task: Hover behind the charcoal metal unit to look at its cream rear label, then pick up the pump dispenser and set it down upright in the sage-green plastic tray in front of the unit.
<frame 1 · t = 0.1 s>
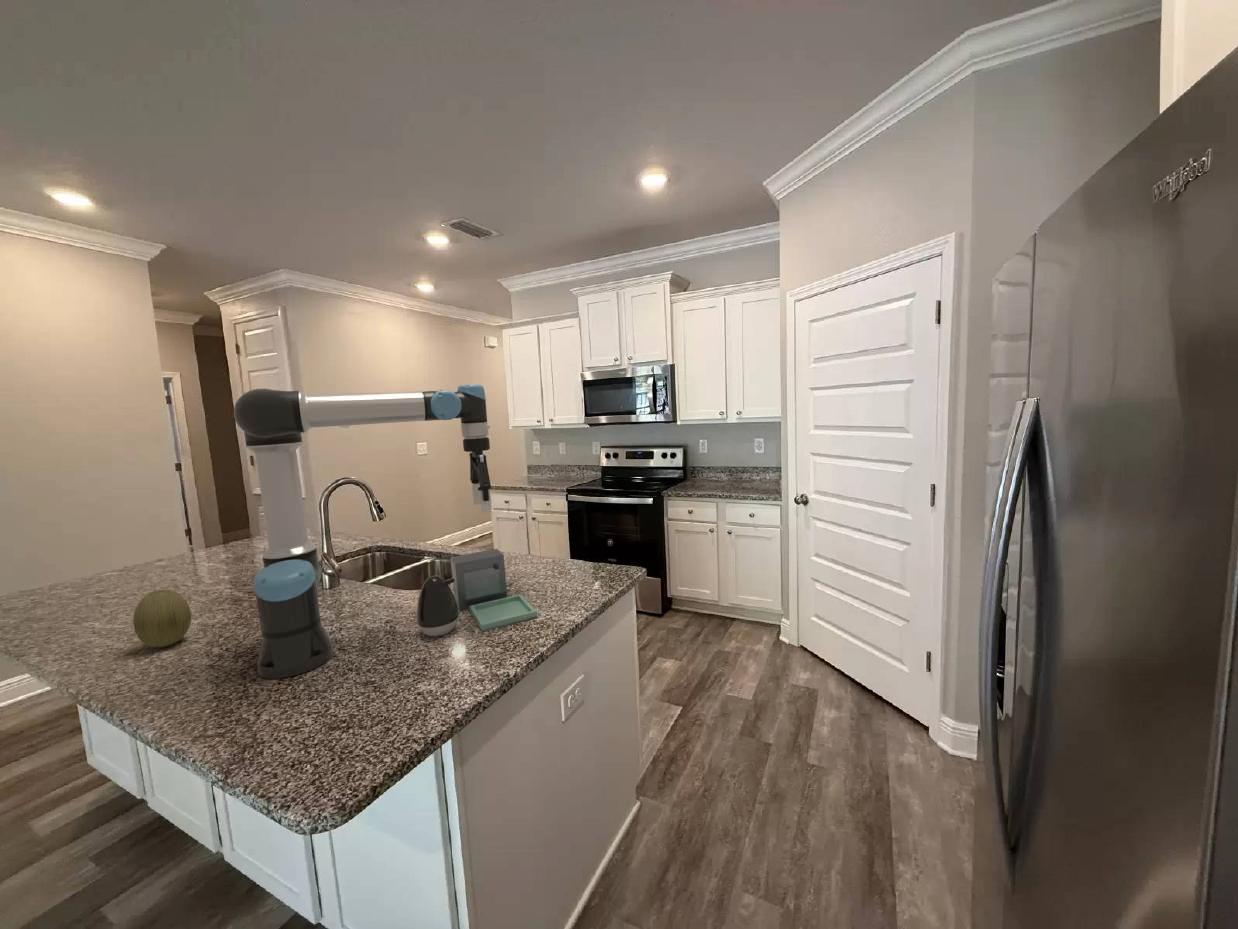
hand: (482, 508, 149), 28 cm above the counter, fingers open, 13 cm apart
unit: (481, 601, 150), on the counter
fruit: (167, 645, 132), on the counter
pump dispenser: (440, 632, 130), on the counter
tray: (503, 614, 139), on the counter
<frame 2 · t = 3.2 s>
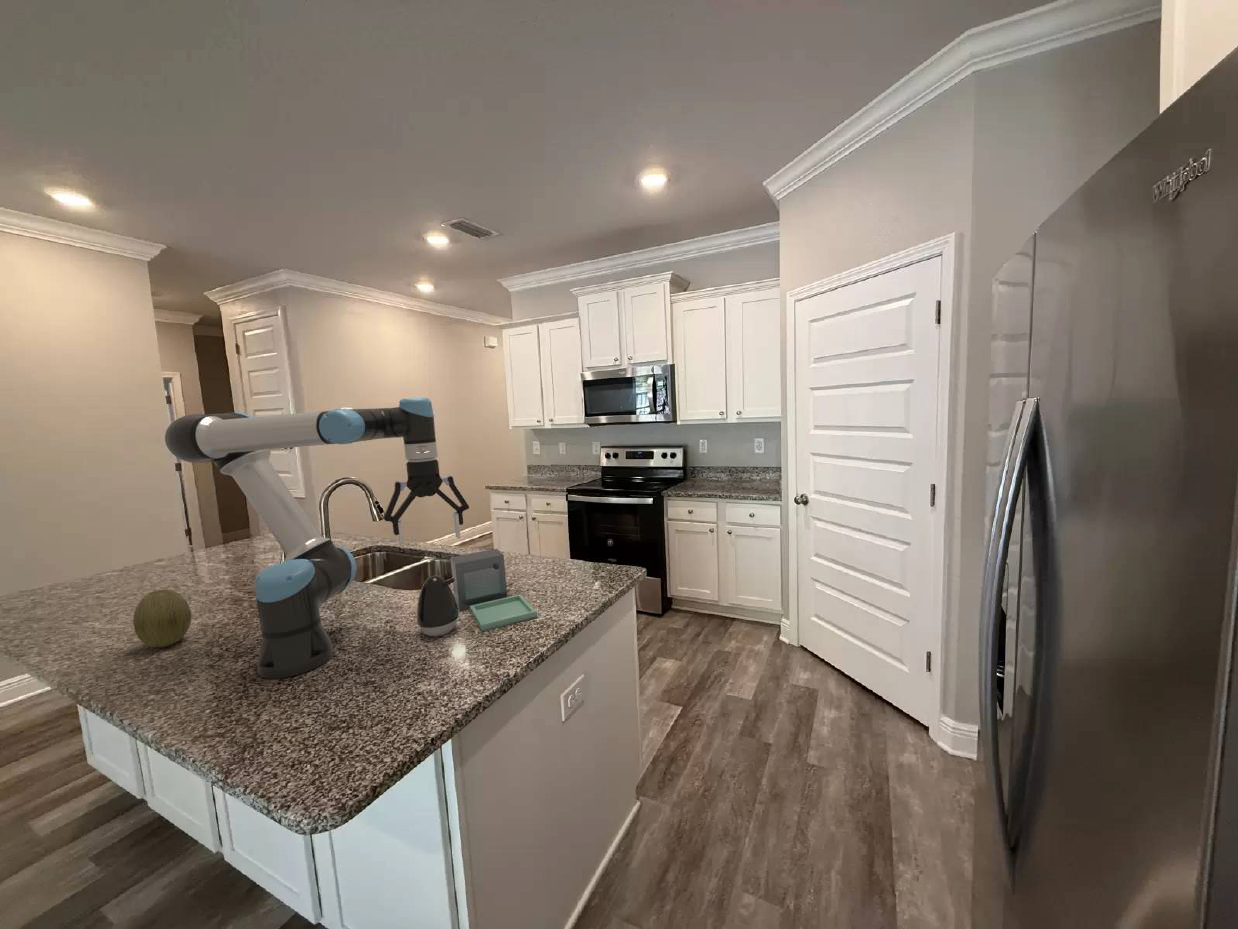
hand: (430, 542, 127), 24 cm above the counter, fingers open, 13 cm apart
nothing on the counter moved.
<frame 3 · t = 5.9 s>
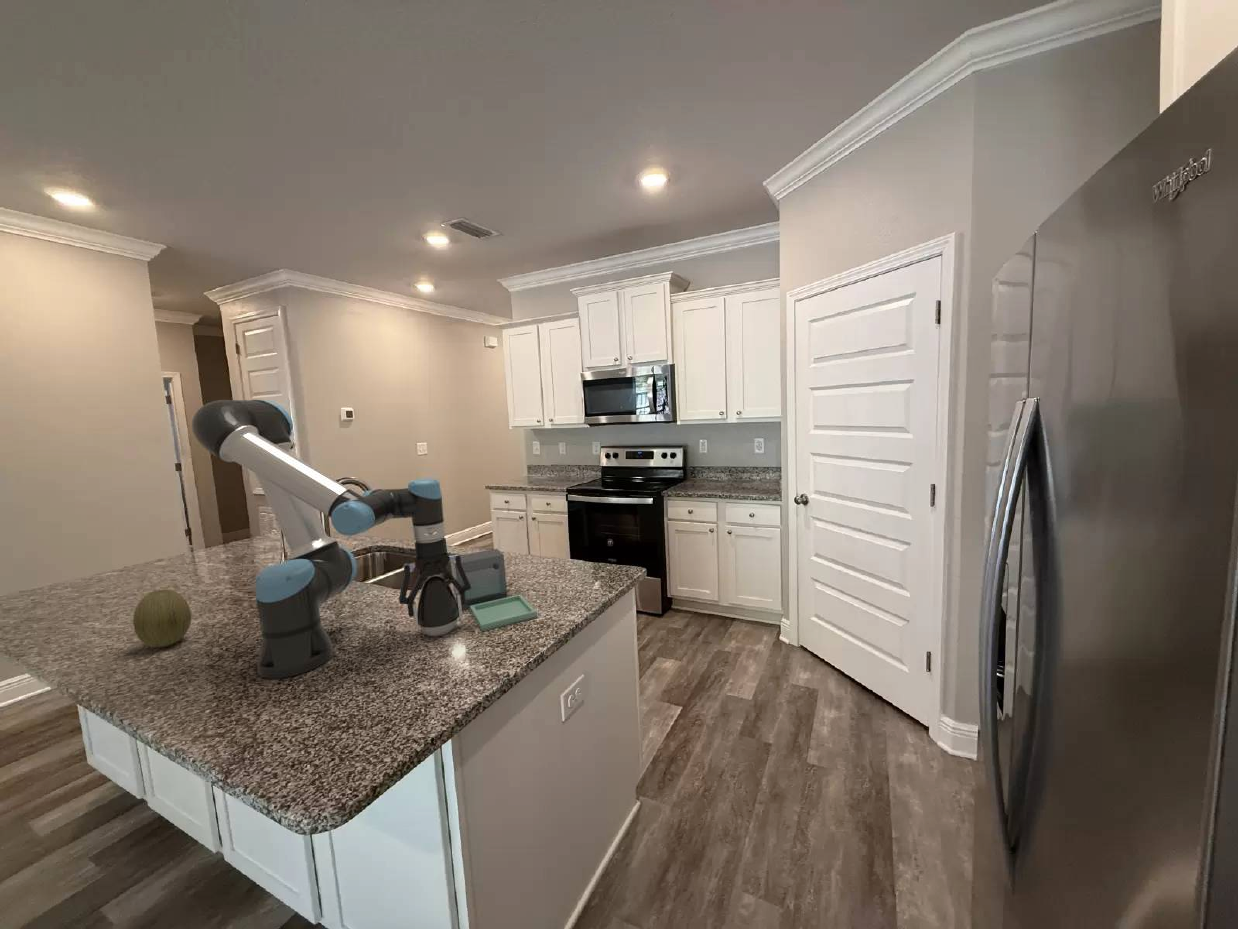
hand: (438, 621, 130), 3 cm above the counter, fingers closed on pump dispenser, 10 cm apart
pump dispenser: (440, 632, 130), on the counter, touching gripper
everything else where it was.
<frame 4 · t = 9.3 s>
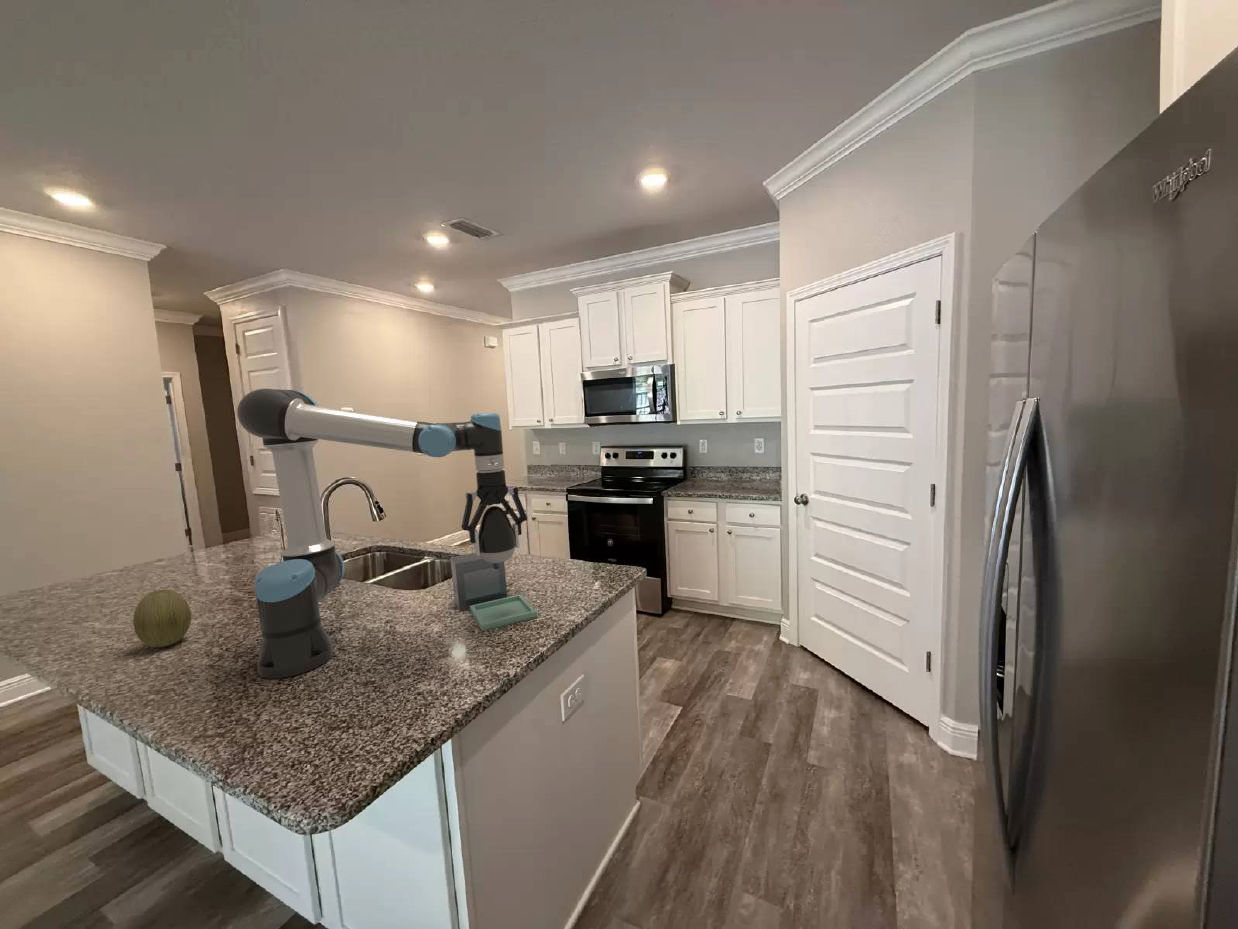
hand: (497, 550, 137), 19 cm above the counter, fingers closed on pump dispenser, 10 cm apart
pump dispenser: (498, 560, 137), point 16 cm above the counter, touching gripper
everything else where it was.
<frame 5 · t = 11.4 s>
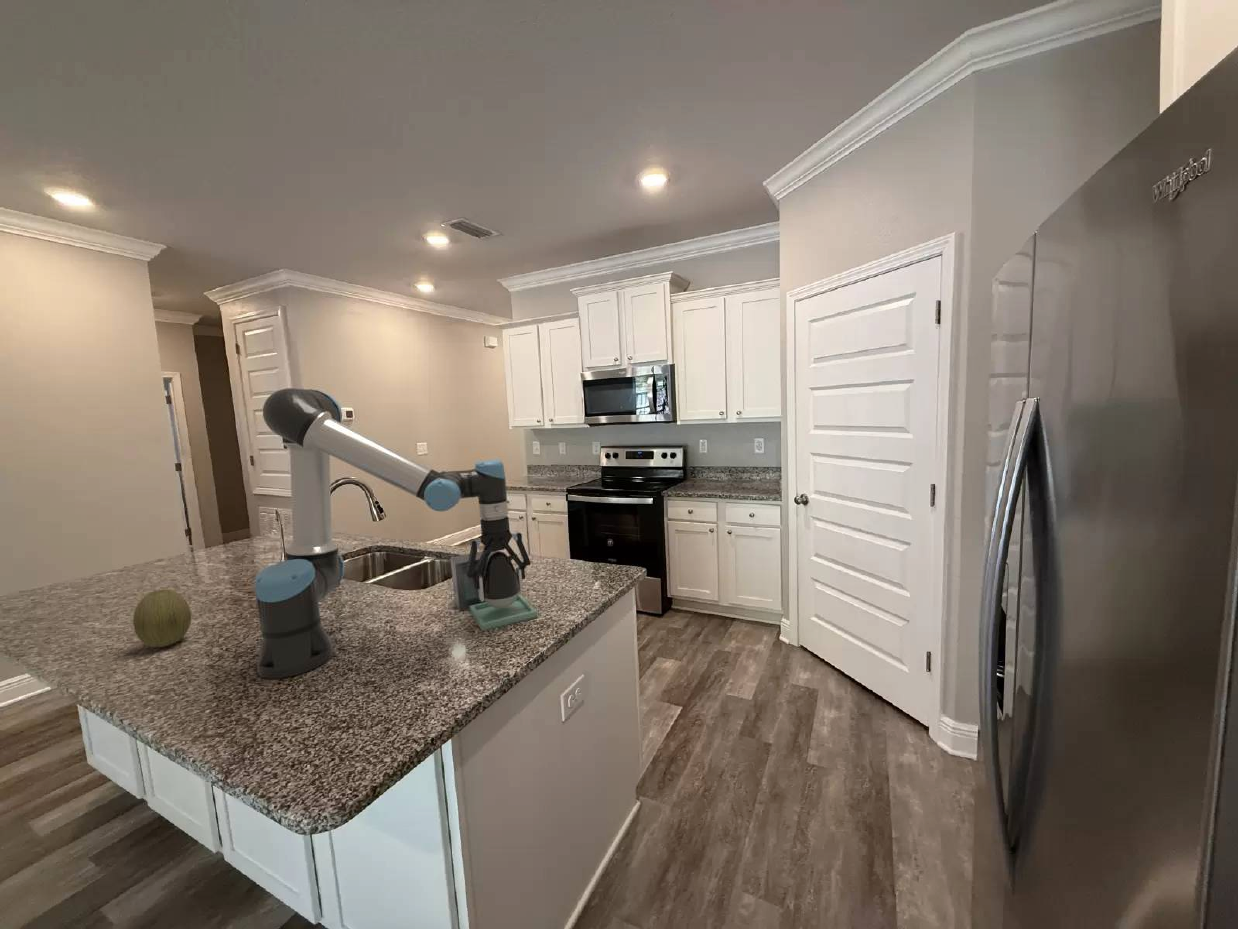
hand: (501, 595, 138), 6 cm above the counter, fingers closed on pump dispenser, 10 cm apart
pump dispenser: (502, 605, 139), point 3 cm above the counter, touching gripper
everything else where it was.
when the fingers open (5 cm above the counter, at t = 12.5 s): pump dispenser drops 2 cm, resting on tray.
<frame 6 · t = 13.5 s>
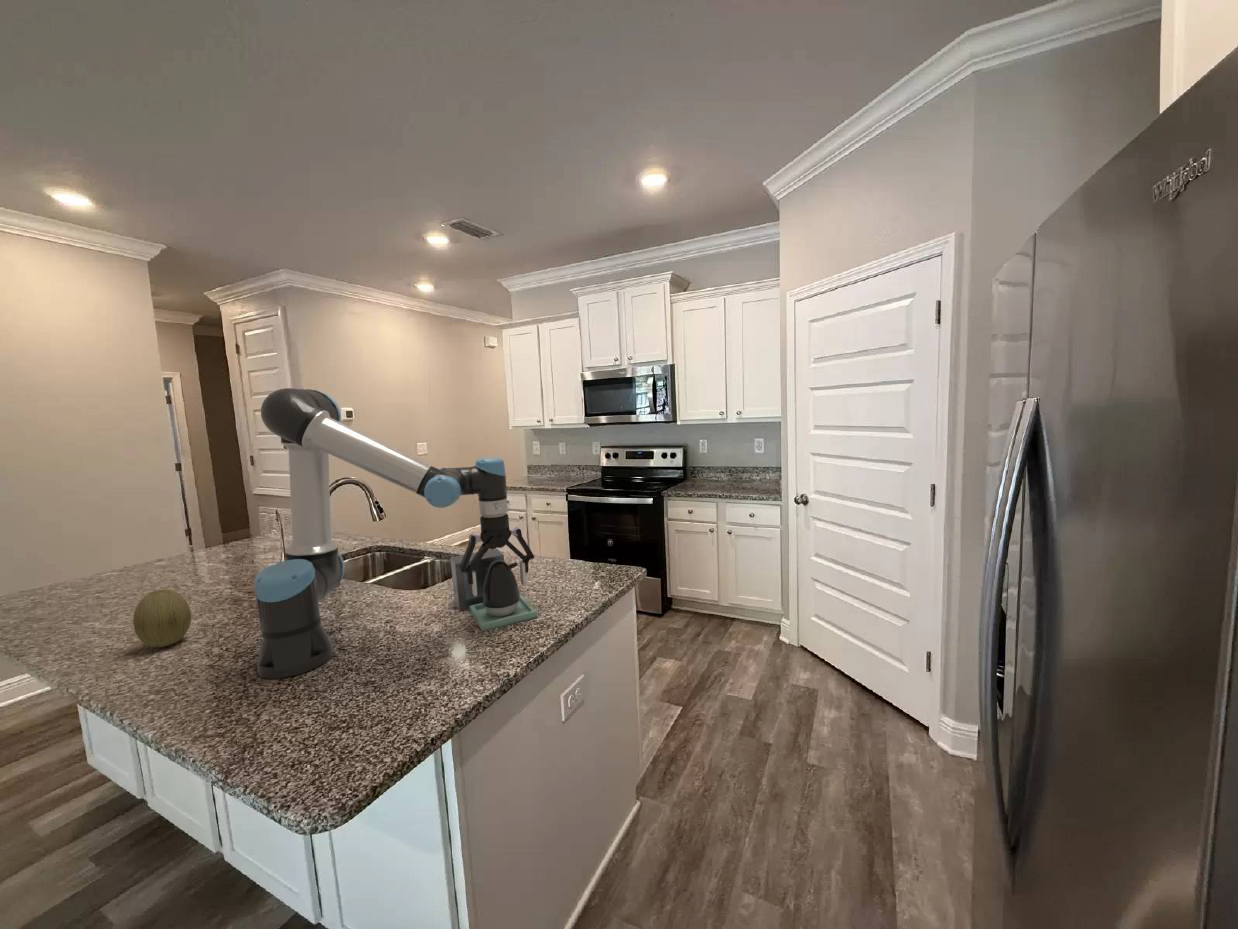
hand: (499, 589, 138), 7 cm above the counter, fingers open, 13 cm apart
pump dispenser: (503, 613, 139), resting on tray
everything else where it was.
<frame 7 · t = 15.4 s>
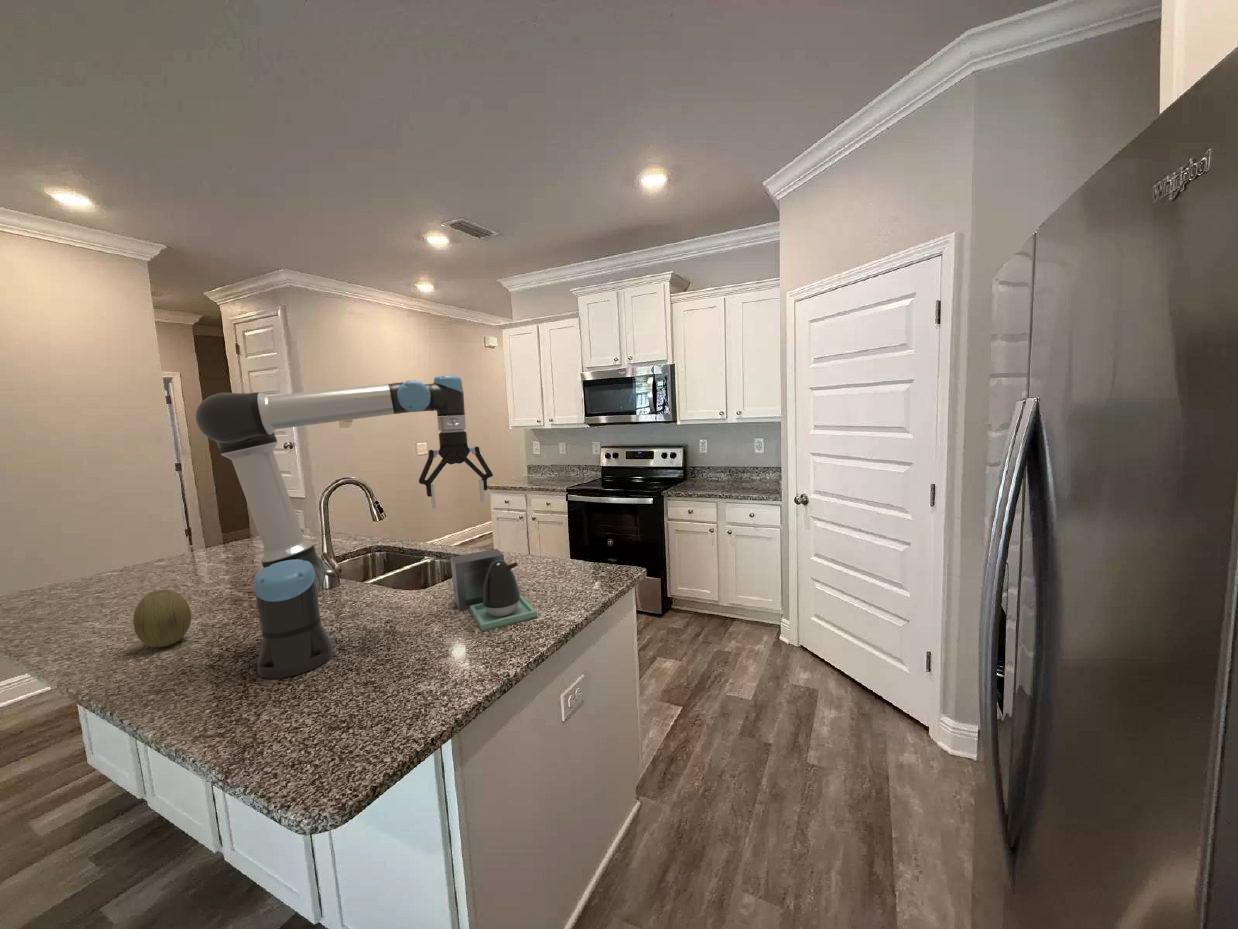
hand: (458, 504, 144), 30 cm above the counter, fingers open, 13 cm apart
nothing on the counter moved.
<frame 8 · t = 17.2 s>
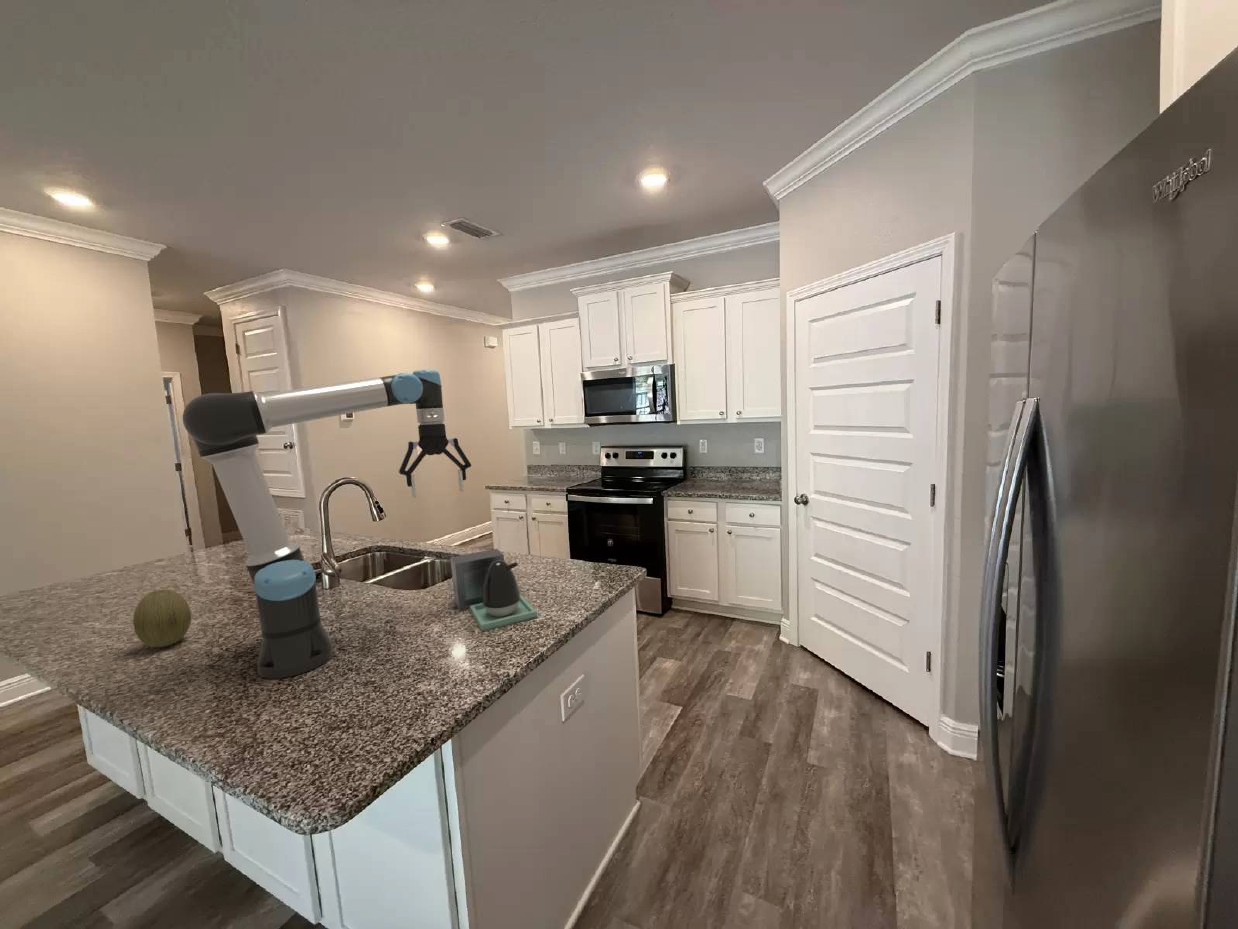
hand: (438, 494, 149), 33 cm above the counter, fingers open, 13 cm apart
nothing on the counter moved.
at the end: pump dispenser inside the target area on the tray (0.0 cm from its centre), point 0.3 cm above the tray's base; pump dispenser tilted 0°; the gripper is holding nothing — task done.
